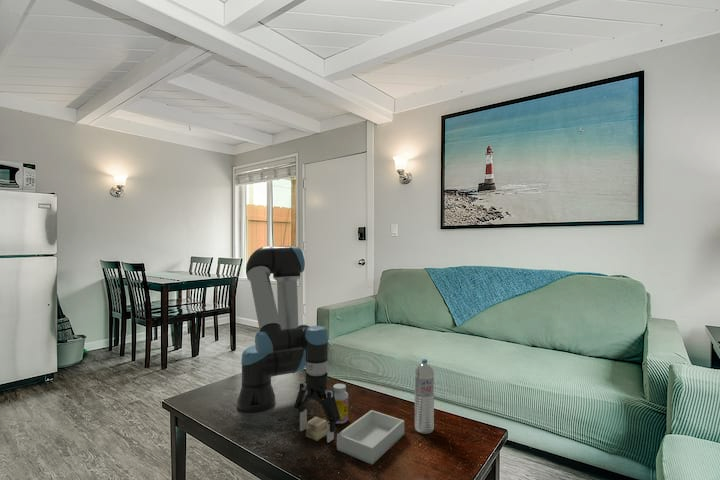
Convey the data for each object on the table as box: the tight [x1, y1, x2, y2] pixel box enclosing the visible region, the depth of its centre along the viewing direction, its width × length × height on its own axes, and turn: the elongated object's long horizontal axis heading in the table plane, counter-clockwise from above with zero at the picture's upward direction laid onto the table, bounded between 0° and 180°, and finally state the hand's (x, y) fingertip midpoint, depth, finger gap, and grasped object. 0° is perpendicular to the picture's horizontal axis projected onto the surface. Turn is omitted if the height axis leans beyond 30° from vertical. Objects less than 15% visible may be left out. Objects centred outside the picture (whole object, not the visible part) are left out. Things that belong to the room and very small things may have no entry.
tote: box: [336, 409, 405, 466], centre depth 124 cm, size 14×21×5 cm, turn 145°
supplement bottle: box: [331, 383, 349, 425], centre depth 139 cm, size 7×7×13 cm
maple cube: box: [305, 416, 328, 442], centre depth 128 cm, size 5×5×5 cm
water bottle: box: [414, 358, 435, 435], centre depth 132 cm, size 7×7×25 cm
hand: (316, 434), depth 128 cm, fingers open, 12 cm apart
